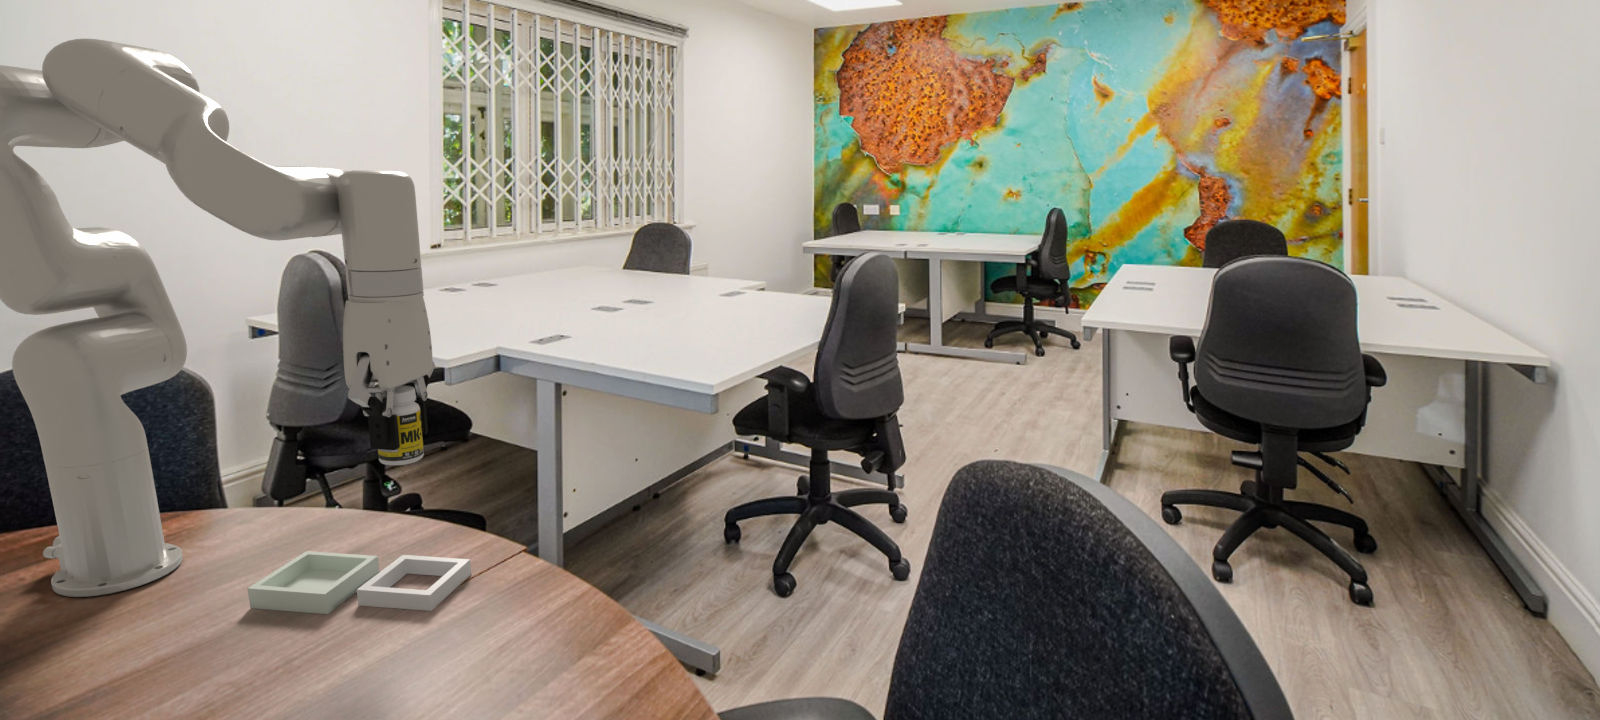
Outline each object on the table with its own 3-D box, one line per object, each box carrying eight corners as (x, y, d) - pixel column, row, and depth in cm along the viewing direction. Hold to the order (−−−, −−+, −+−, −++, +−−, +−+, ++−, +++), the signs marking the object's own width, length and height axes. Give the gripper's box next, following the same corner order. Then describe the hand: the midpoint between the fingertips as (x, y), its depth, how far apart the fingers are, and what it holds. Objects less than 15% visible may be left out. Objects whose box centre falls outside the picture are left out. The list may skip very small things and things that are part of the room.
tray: (250, 608, 94) (247, 588, 94) (309, 569, 103) (306, 551, 103) (327, 614, 93) (324, 594, 92) (379, 574, 102) (377, 556, 102)
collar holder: (358, 605, 95) (356, 589, 95) (404, 569, 104) (402, 554, 103) (431, 611, 94) (429, 595, 93) (471, 574, 103) (470, 559, 102)
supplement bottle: (406, 468, 92) (399, 396, 91) (369, 464, 93) (362, 393, 91) (433, 454, 97) (427, 385, 95) (397, 450, 98) (391, 383, 96)
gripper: (399, 274, 99) (412, 418, 103) (299, 294, 83) (319, 464, 87) (458, 276, 98) (468, 421, 102) (368, 296, 82) (385, 468, 86)
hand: (400, 439), depth 95 cm, fingers closed on supplement bottle, 4 cm apart
